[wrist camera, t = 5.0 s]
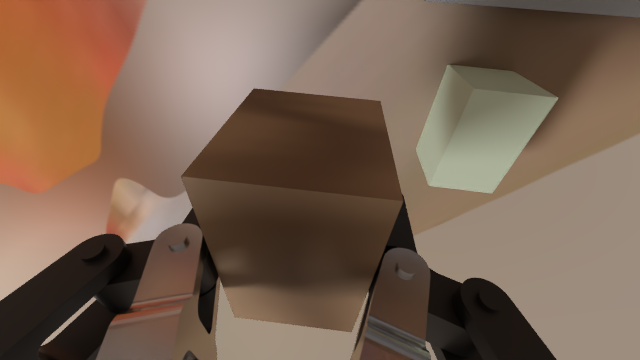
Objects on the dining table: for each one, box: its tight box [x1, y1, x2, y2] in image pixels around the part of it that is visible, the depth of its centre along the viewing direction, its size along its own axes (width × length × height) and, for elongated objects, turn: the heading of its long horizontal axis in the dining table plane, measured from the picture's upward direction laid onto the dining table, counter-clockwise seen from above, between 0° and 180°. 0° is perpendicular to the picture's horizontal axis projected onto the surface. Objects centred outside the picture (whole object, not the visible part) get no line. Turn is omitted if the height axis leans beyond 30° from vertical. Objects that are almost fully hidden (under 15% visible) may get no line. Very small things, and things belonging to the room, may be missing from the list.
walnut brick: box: [181, 89, 403, 332], centre depth 9 cm, size 4×7×5 cm, turn 176°
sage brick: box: [416, 64, 558, 193], centre depth 18 cm, size 4×7×5 cm, turn 176°
